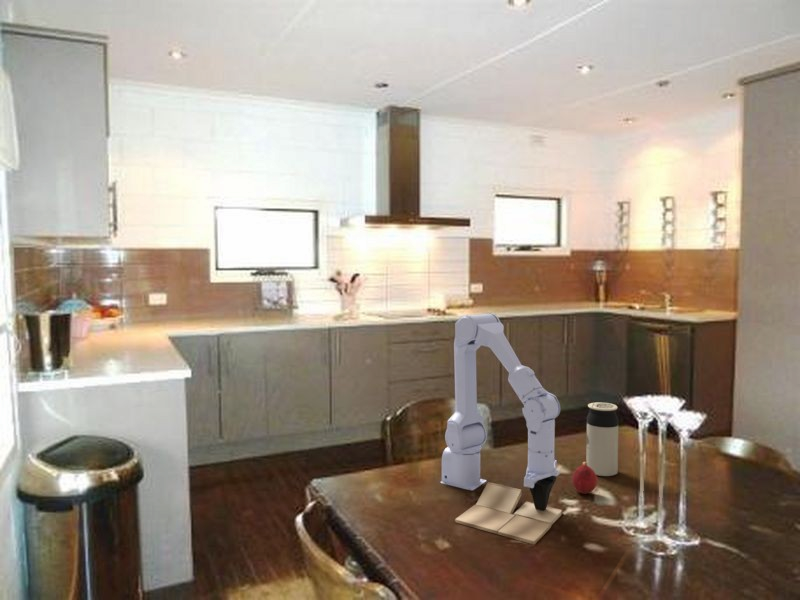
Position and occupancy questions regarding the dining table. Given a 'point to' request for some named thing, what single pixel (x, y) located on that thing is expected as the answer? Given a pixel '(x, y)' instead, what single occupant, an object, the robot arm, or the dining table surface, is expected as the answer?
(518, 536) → the laid row
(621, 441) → the dining table surface
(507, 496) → the plank
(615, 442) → the travel mug
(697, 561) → the dining table surface
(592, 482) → the onion
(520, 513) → the plank
